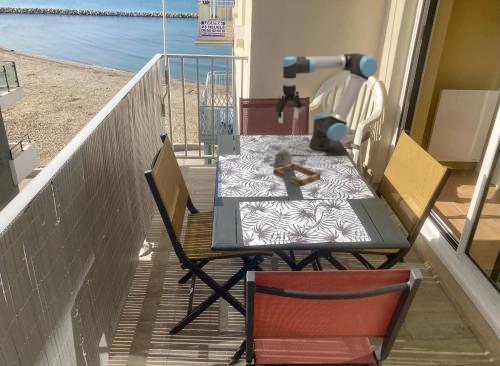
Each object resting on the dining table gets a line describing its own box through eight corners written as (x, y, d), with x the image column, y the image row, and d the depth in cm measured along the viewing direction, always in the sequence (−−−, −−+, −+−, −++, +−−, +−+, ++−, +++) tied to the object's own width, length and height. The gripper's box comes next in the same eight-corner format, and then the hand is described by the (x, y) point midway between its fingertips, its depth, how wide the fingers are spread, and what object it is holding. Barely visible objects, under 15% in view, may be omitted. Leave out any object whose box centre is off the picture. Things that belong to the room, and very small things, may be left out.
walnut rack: (293, 167, 245) (293, 163, 244) (320, 179, 231) (320, 174, 230) (273, 174, 236) (273, 169, 235) (300, 186, 221) (300, 181, 220)
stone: (285, 151, 239) (285, 145, 248) (271, 161, 243) (272, 154, 252) (295, 163, 242) (294, 157, 251) (281, 172, 245) (281, 166, 254)
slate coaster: (282, 161, 255) (282, 160, 255) (294, 166, 247) (294, 165, 247) (268, 165, 249) (268, 164, 248) (281, 170, 241) (281, 169, 241)
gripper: (298, 80, 249) (297, 115, 258) (269, 87, 234) (269, 123, 243) (308, 82, 244) (306, 117, 253) (279, 89, 229) (278, 126, 238)
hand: (288, 120), depth 248 cm, fingers open, 13 cm apart
